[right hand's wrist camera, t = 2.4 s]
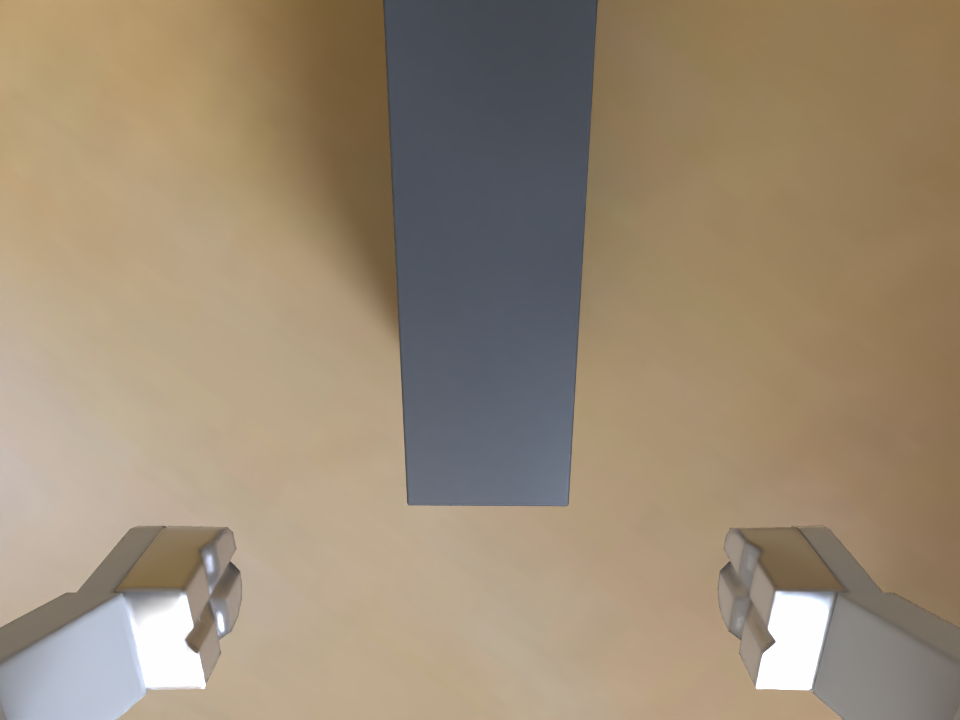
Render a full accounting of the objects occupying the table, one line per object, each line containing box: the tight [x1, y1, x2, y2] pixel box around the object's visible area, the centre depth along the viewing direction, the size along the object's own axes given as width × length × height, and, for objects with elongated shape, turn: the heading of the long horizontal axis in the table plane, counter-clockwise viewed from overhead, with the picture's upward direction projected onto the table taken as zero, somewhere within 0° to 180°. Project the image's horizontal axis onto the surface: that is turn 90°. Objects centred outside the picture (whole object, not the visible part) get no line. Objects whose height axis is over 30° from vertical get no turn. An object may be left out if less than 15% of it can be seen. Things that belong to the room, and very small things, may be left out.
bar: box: [383, 0, 598, 506], centre depth 18 cm, size 24×5×9 cm, turn 0°
